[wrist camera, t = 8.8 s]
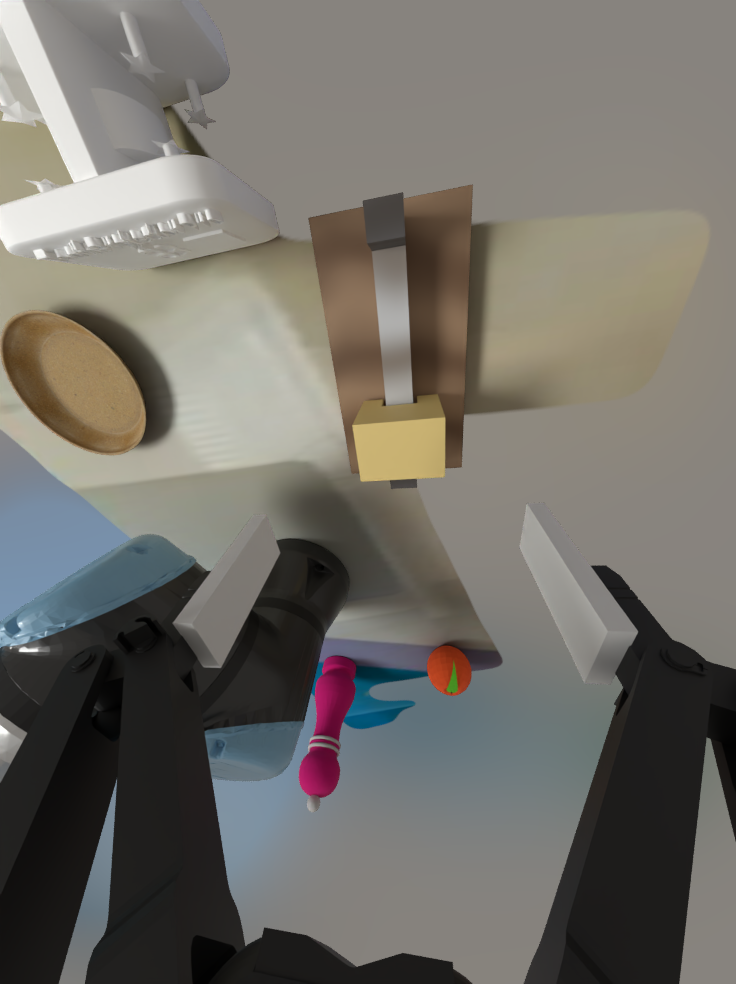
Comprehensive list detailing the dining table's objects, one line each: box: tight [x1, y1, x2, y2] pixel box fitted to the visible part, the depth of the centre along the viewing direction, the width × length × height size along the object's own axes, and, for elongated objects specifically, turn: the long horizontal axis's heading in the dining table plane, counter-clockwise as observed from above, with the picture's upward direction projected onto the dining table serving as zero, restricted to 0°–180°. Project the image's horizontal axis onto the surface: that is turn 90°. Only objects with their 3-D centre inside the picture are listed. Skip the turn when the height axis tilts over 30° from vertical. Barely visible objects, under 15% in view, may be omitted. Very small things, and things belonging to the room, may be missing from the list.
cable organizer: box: [0, 0, 280, 270], centre depth 19 cm, size 15×11×12 cm
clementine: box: [427, 645, 471, 696], centre depth 48 cm, size 8×7×7 cm
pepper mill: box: [299, 656, 356, 812], centre depth 49 cm, size 7×7×20 cm
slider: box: [352, 394, 445, 482], centre depth 27 cm, size 5×7×7 cm
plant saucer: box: [0, 310, 146, 455], centre depth 33 cm, size 15×15×3 cm
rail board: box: [309, 185, 473, 489], centre depth 26 cm, size 22×12×7 cm, turn 7°
